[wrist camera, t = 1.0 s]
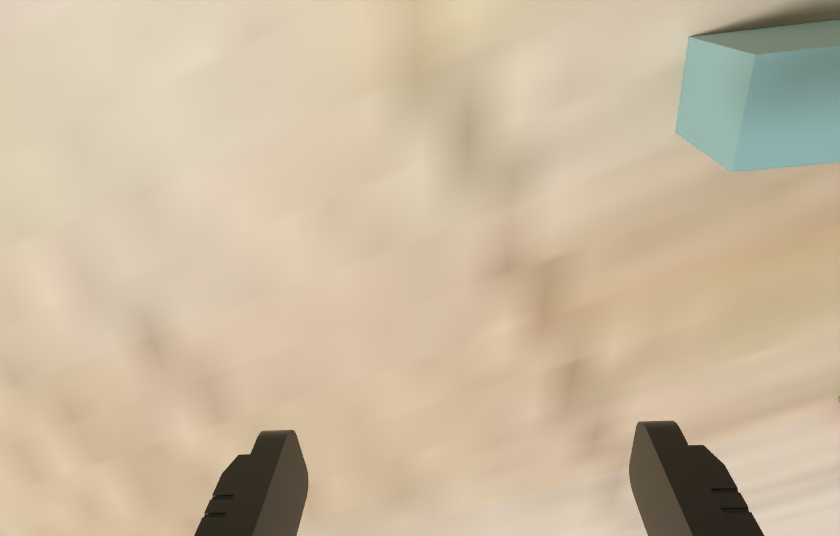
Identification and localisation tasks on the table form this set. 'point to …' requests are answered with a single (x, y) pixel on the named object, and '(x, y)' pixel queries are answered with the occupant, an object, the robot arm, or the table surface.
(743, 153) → the block
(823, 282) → the table surface
